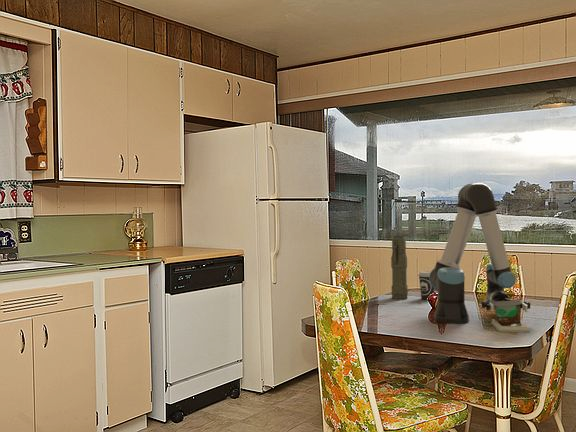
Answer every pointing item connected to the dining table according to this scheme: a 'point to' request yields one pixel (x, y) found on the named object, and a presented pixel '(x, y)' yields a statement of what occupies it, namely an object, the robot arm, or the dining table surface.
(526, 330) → the cream rectangular tray
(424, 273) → the coffee cup
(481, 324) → the dining table surface
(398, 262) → the olive brown statue
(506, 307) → the food container
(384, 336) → the dining table surface
